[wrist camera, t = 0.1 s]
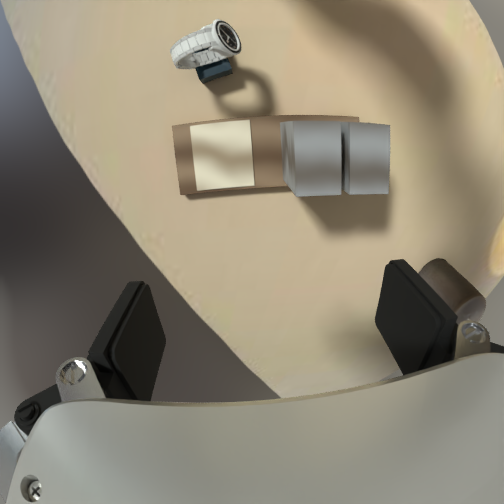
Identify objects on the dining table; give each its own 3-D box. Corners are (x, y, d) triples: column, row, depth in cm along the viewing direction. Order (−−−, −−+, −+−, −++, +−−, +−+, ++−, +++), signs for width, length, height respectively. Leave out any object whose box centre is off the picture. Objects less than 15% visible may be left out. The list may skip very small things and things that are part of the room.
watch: (246, 69, 32) (247, 47, 22) (191, 88, 33) (172, 74, 23) (233, 37, 30) (230, 7, 20) (179, 56, 30) (157, 33, 20)
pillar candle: (439, 249, 45) (484, 289, 32) (454, 274, 48) (494, 314, 34) (406, 283, 48) (444, 332, 35) (425, 305, 51) (458, 351, 38)
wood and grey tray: (174, 125, 35) (149, 126, 25) (355, 117, 35) (393, 116, 25) (182, 192, 39) (162, 217, 29) (355, 181, 39) (391, 202, 29)
